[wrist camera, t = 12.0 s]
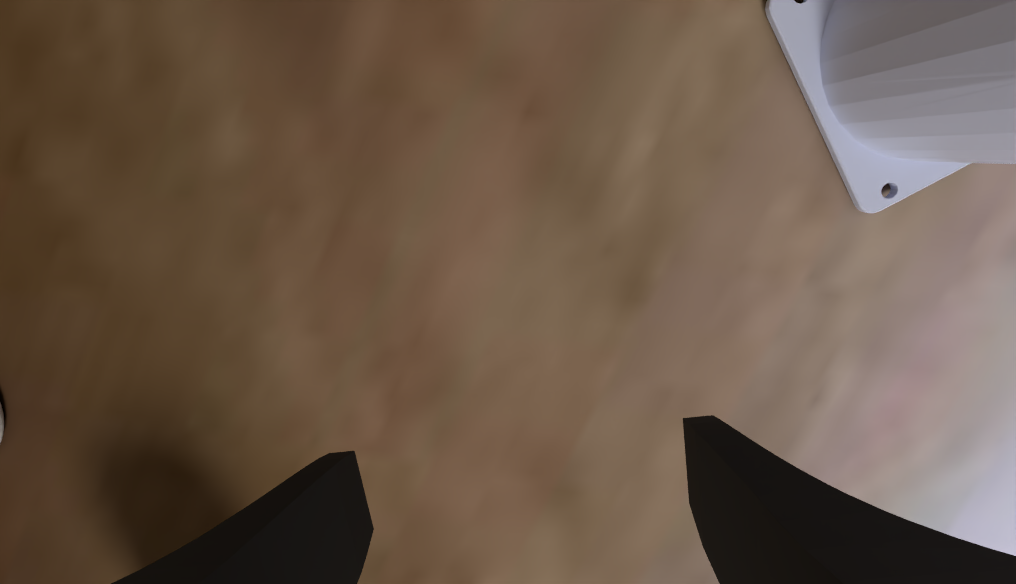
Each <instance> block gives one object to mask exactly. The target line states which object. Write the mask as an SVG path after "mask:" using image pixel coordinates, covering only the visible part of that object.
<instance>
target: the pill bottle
mask: <svg viewBox="0 0 1016 584" xmlns="http://www.w3.org/2000/svg"><path fill="white" fill-rule="evenodd" d="M3 431H4V415H3V410H2V406H1V403H0V443H1V440H2V437H3Z"/></svg>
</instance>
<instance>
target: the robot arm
mask: <svg viewBox="0 0 1016 584" xmlns="http://www.w3.org/2000/svg"><path fill="white" fill-rule="evenodd" d="M765 11H766V16H767V18H768V20H769V22H770V24H771V27H772V29H773V31H774V33H775V35H776V37H777V39H778V42H779V44H780V46H781V48H782V50H783V52H784V55H785V57H786V59H787V61H788V63H789V65H790V67H791V70H792V72H793V74H794V76H795V78H796V80H797V83H798V85H799V87H800V89H801V91H802V93H803V95H804V98H805V100H806V102H807V104H808V106H809V108H810V111H811V113H812V115H813V117H814V119H815V121H816V123H817V126H818V128H819V130H820V132H821V134H822V136H823V139H824V141H825V143H826V145H827V147H828V149H829V151H830V154H831V156H832V158H833V160H834V162H835V164H836V166H837V169H838V171H839V173H840V175H841V177H842V179H843V182H844V184H845V186H846V188H847V190H848V192H849V194H850V197H851V199H852V201H853V203H854V205H855V207H856V208H857V209H858V210H860V211H862V212H866V213H876V212H879V211H881V210H883V209H885V208H887V207H889V206H891V205H893V204H894V203H896V202H898V201H900V200H902V199H904V198H906V197H908V196H910V195H912V194H914V193H915V192H917V191H919V190H921V189H923V188H925V187H927V186H929V185H931V184H933V183H934V182H936V181H938V180H940V179H942V178H944V177H946V176H948V175H950V174H952V173H953V172H955V171H957V170H959V169H961V168H963V167H965V166H967V165H969V164H971V163H997V164H1016V0H803V2H802V3H801V4H800V3H796V2H795V1H794V0H767V2H766V7H765ZM887 183H888V184H889V185H890V188H891V190H890V192H889V194H888V195H887V196H886V197H883V196H882V194H881V190H882V188H883V186H884V185H885V184H887ZM683 427H684V440H685V453H686V466H687V480H688V493H689V504H690V507H691V510H692V513H693V517H694V520H695V523H696V526H697V529H698V533H699V536H700V539H701V542H702V545H703V548H704V550H705V552H706V554H707V557H708V559H709V561H710V563H711V566H712V568H713V570H714V572H715V574H716V577H717V579H718V581H719V583H720V584H1016V556H1013V555H1010V554H1006V553H1003V552H1000V551H996V550H993V549H989V548H986V547H983V546H980V545H977V544H974V543H971V542H968V541H964V540H961V539H958V538H955V537H952V536H949V535H947V534H944V533H941V532H939V531H936V530H933V529H930V528H928V527H925V526H922V525H919V524H917V523H914V522H911V521H908V520H906V519H903V518H901V517H898V516H896V515H893V514H891V513H889V512H886V511H884V510H881V509H879V508H877V507H875V506H872V505H870V504H868V503H866V502H864V501H861V500H859V499H857V498H855V497H852V496H850V495H848V494H846V493H844V492H842V491H840V490H838V489H836V488H834V487H832V486H830V485H828V484H826V483H824V482H822V481H820V480H818V479H817V478H815V477H813V476H811V475H809V474H807V473H805V472H804V471H802V470H800V469H798V468H796V467H795V466H793V465H791V464H790V463H788V462H786V461H784V460H783V459H781V458H779V457H778V456H776V455H774V454H773V453H771V452H770V451H768V450H766V449H765V448H763V447H762V446H760V445H758V444H757V443H755V442H754V441H752V440H751V439H749V438H748V437H746V436H745V435H743V434H741V433H740V432H738V431H737V430H735V429H734V428H732V427H731V426H729V425H728V424H726V423H725V422H723V421H722V420H720V419H718V418H717V417H715V416H713V415H711V416H701V417H691V418H683ZM373 530H374V528H373V524H372V520H371V516H370V512H369V508H368V504H367V500H366V496H365V492H364V488H363V484H362V480H361V476H360V472H359V468H358V463H357V459H356V455H355V451H347V452H337V453H328V454H326V455H325V456H323V457H321V458H319V459H317V460H316V461H314V462H312V463H311V464H309V465H308V466H306V467H305V468H303V469H302V470H300V471H299V472H297V473H296V474H294V475H293V476H291V477H290V478H288V479H287V480H285V481H284V482H282V483H281V484H280V485H278V486H277V487H275V488H274V489H272V490H271V491H269V492H268V493H266V494H265V495H263V496H262V497H261V498H259V499H258V500H256V501H255V502H253V503H252V504H250V505H249V506H247V507H246V508H244V509H243V510H241V511H239V512H238V513H236V514H235V515H233V516H232V517H230V518H228V519H227V520H225V521H224V522H222V523H221V524H219V525H218V526H216V527H214V528H213V529H211V530H210V531H208V532H207V533H205V534H203V535H202V536H200V537H198V538H197V539H195V540H193V541H192V542H190V543H188V544H187V545H185V546H183V547H181V548H180V549H178V550H176V551H174V552H172V553H170V554H169V555H167V556H165V557H163V558H161V559H159V560H158V561H156V562H154V563H152V564H150V565H148V566H146V567H145V568H143V569H141V570H139V571H137V572H135V573H132V574H130V575H128V576H126V577H124V578H122V579H120V580H118V581H116V582H114V583H112V584H357V582H358V580H359V577H360V575H361V572H362V569H363V566H364V562H365V559H366V556H367V552H368V548H369V545H370V541H371V537H372V533H373Z"/></svg>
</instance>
